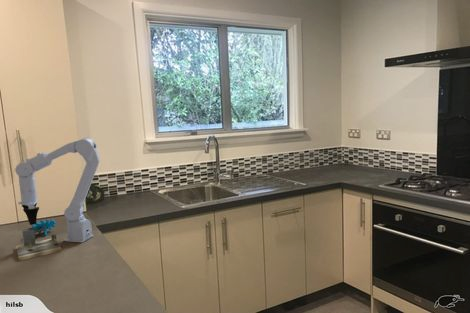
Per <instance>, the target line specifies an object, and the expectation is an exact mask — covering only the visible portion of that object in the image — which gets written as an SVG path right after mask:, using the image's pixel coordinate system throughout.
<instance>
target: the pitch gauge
mask: <svg viewBox="0 0 470 313" xmlns="http://www.w3.org/2000/svg"><path fill="white" fill-rule="evenodd" d="M35 243H36V244H33V245H32V248H29V245H28V246H24V243H23V244H19V245H16V246H15V247H16V252H17V258H18V262H19V261H25V260H29V259H33V258H37V257H42V256H47V255H50V254H54V253H59V252H61V251H62V247H61V245H60V243H59V242H58V240H57V234H56V233H52V234H51V237H50V238H47V239H43V240H38V241H35Z"/></svg>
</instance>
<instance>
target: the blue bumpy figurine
mask: <svg viewBox="0 0 470 313" xmlns="http://www.w3.org/2000/svg"><path fill="white" fill-rule="evenodd" d="M56 224H57V223H56V220H54V219H49V218H47V219H46V220H45V221H44V219H41V220H40V221H39V222H38V221H36V224H33V225H31V228H33V229H34V235H35V236H36V234H37V233H38V234H40V233H42V232H43V233H44V237H45V236H48V230H52V229H53V228H55V227H56V226H55V225H56Z"/></svg>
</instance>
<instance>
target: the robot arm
mask: <svg viewBox="0 0 470 313" xmlns="http://www.w3.org/2000/svg"><path fill="white" fill-rule="evenodd" d="M68 153H73V154H76V153H78V154H79V155H80V156H81V157H82V158H83V160H84V161H85V163H86V164H85V166H84V169H83V171H82V175H81V176H80V179H79V181H78V184H77V186H76V189H75V192H74V195H73V198H72V199H71V201H70V203H69V205H68V207H67V208H66V209H65V210H64V212H63V213H64V218H65V219H66V220H65V222H66V230H67V238H64V239H63V242H70V243H84V242H85V241H88V240H89V239H91V238H93V237H94V234H93V226H92V222H91V220H90V219H87V218H86V217H85V215H84V214H83V213H84V210H85V202H86V199H87V198H86V197H87V195H88V192H89V190H90V187H91V185H92V183H93V180H94V177H95V174H96V172H97V170H98V167H99V164H100V161H101V160H100V155H99V151H98V147H97V144H96V143H95V141H94V139H92V138H90V137H83V138H82V139H78V140H75V141H72V142H69V143H66V144H64V145H62V146H61V147H59V148H57V149H55V150H53V151H51V152H49V153H47V152H37V153H36V156H33V157H31V158H27V159H25V161H23V162H19V163H18V164H17V165H16V167H15V174H16V175H17V176H18V183H19V184H18V185H19V191H20V200H21V201H18V205H21V207H22V208H23V209H22V210H23V212H24V213H25V215H26V218H27V221H28V223H29V225H30V226H32V225H35V224H36V222H37V218H38V212H39V210H40V206H37V205H38V202H39V199H38V194H37V193H38V192H37V186H36V179H35V172H38V171H40V170H43V169H44V168H47V167H49V166H50V165H52V162H53V160H56V159H57V158H61V157H62V156H65V155H67V154H68ZM36 206H37V207H36Z"/></svg>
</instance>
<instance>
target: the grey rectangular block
mask: <svg viewBox="0 0 470 313" xmlns="http://www.w3.org/2000/svg"><path fill="white" fill-rule="evenodd" d="M21 234H22V235H21V236H22V243H23V244H24V246H28V245H29V248H32V245H33V244H36V243H35V242H36V234H35V235H34V229H33V228H32V227H30V228H24V229H21Z"/></svg>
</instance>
